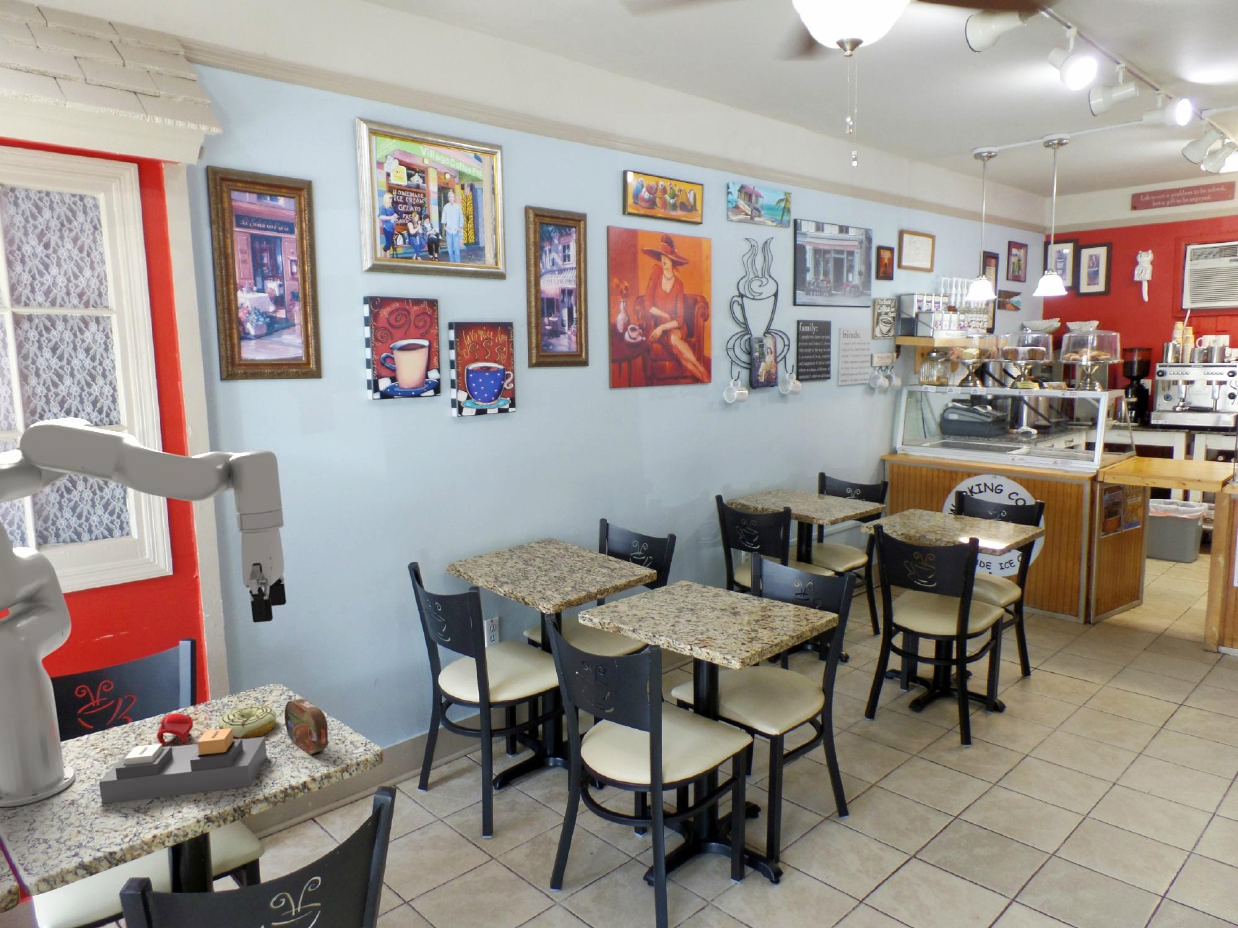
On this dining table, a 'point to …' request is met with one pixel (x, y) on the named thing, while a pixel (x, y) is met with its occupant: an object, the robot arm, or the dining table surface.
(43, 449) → the robot arm
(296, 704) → the tin
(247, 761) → the grey button panel
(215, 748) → the orange button
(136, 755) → the cream button
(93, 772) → the dining table surface
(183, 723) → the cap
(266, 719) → the decorated donut
